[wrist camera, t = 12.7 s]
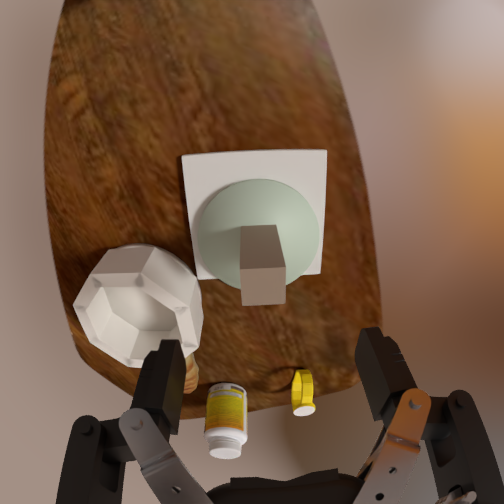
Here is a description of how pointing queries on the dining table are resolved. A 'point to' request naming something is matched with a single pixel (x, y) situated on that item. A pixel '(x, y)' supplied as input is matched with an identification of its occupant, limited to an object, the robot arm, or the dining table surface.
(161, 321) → the bowl
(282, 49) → the dining table surface
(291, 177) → the mat
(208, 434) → the supplement bottle
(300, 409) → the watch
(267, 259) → the lid
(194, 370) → the pastry
